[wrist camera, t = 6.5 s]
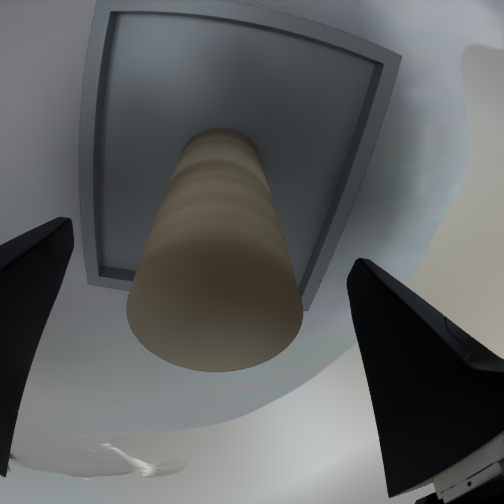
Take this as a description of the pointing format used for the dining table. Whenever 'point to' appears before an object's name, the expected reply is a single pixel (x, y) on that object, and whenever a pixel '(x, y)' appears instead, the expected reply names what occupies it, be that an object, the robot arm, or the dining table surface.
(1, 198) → the dining table surface
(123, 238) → the charcoal tray
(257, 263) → the dowel pin
